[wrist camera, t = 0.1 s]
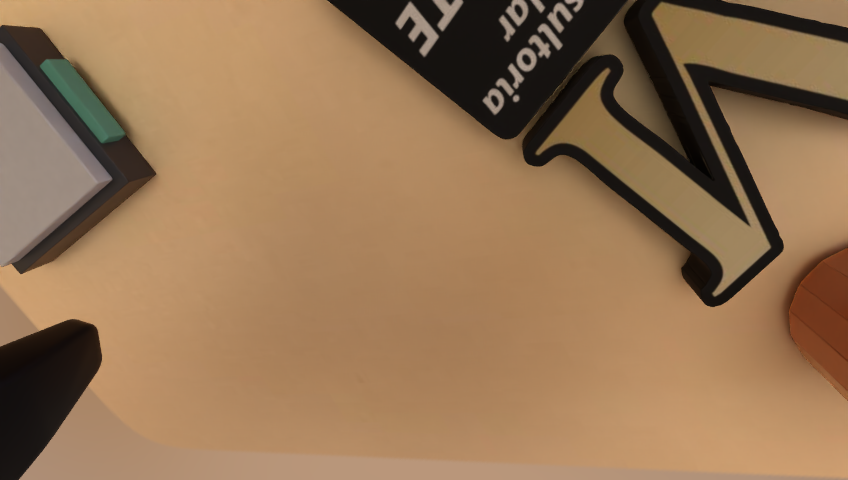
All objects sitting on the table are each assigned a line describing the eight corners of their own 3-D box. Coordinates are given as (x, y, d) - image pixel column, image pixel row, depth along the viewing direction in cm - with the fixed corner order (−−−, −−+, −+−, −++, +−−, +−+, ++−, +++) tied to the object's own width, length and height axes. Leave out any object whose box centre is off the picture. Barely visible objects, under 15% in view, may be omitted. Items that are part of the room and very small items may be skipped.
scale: (52, 261, 29) (2, 282, 26) (-59, 131, 27) (-125, 138, 25) (163, 167, 26) (121, 180, 23) (47, 20, 25) (-13, 14, 22)
